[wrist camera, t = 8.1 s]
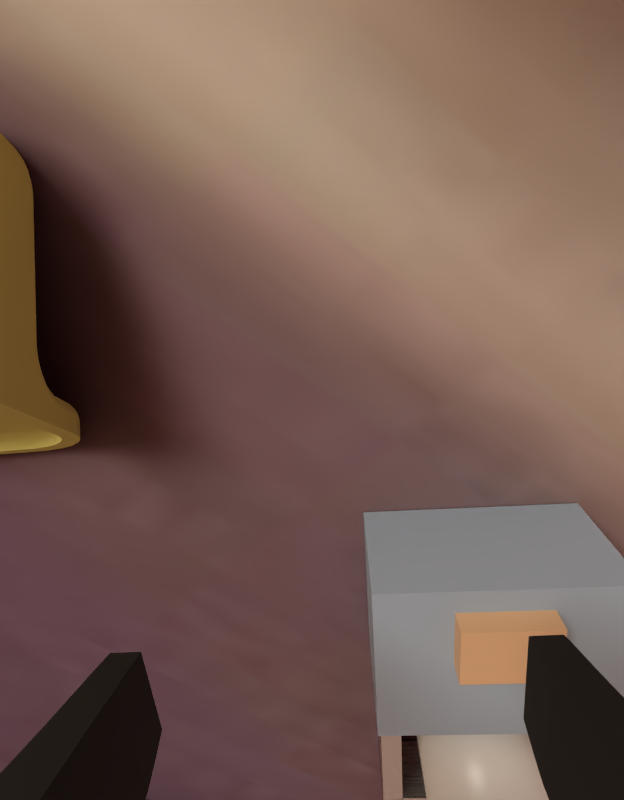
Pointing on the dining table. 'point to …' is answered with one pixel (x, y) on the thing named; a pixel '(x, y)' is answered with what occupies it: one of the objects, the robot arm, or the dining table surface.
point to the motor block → (483, 610)
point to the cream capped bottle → (480, 767)
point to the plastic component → (23, 326)
